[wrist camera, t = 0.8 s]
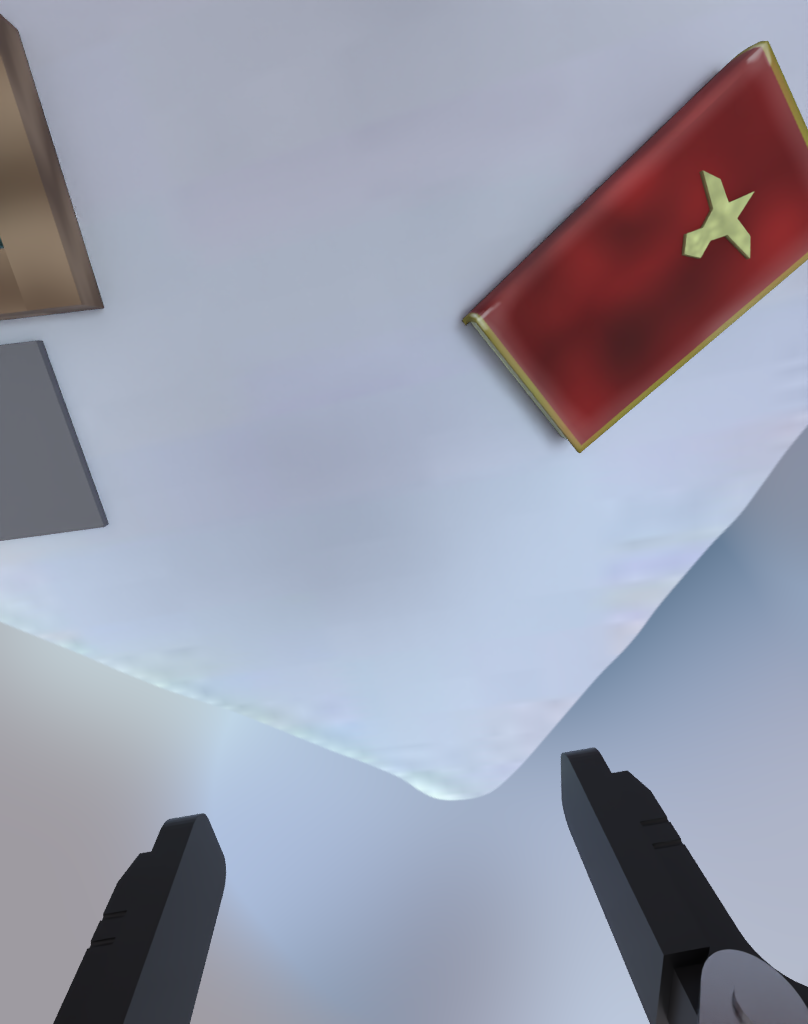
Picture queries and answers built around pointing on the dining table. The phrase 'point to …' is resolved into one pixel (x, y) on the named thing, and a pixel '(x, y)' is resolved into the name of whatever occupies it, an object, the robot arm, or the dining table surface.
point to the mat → (40, 452)
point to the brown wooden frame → (35, 204)
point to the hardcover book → (659, 253)
